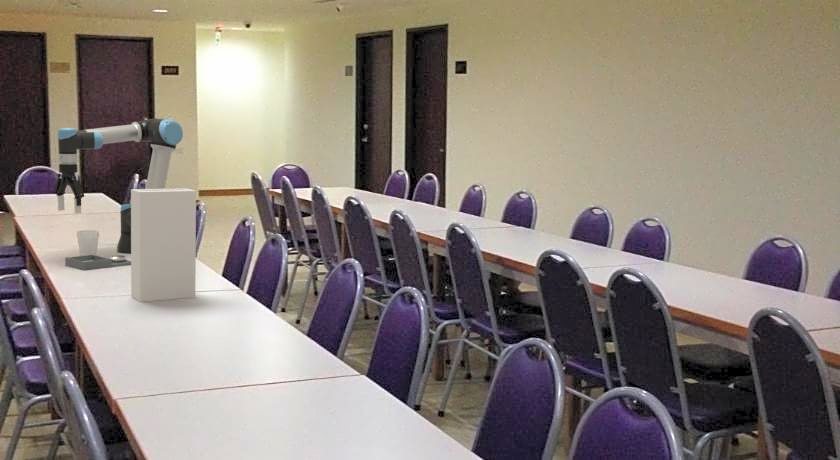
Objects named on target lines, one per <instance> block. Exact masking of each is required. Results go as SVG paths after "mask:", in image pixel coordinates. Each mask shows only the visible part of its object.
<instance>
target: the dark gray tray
mask: <svg viewBox="0 0 840 460" xmlns="http://www.w3.org/2000/svg"><path fill="white" fill-rule="evenodd" d="M64 263H65V267H69V268H73V269H77V270H82V271H88V270H89V271H90V270H91V271H92V270H99V269H106V268H115V267H123V266H125V267H126V266H131V260H128V259H125V261H122V262H112V259H109V258H105V256H100V255H97V254H96V255H86V256H80V255H78V256H71V257H70V256H69V257H65V258H64Z"/></svg>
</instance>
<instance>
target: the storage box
mask: <svg viewBox="0 0 840 460" xmlns="http://www.w3.org/2000/svg"><path fill="white" fill-rule="evenodd" d="M130 204H131V253H130V259H131V260H130V261H131V265H130V267H131V268H130V271H131V272H130V276H131V277H130V278H131V281H130V282H131V284H130V285H131V286H130V287H131V288H130V291H131V292H130V293H131V294H130V295H131V296H130V297H131V298H132V299H134V300H137V301H138V302H139V303H143V302H154V301H155V302H157V301H165V300H166V301H167V300H178V299H192V298H196V267H197V266H196V263H197V262H196V259H197V258H196V257H197V256H196V253H197V252H196V245H197V243H196V242H197V236H196V235H197V228H196V227H197V226H196V225H197V191H196V190H195V189H190V188H185V187H184V188H183V187H182V188H165V189H146V188H135V189H133V188H131V189H130Z"/></svg>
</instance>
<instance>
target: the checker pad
mask: <svg viewBox="0 0 840 460" xmlns="http://www.w3.org/2000/svg"><path fill="white" fill-rule="evenodd" d="M104 257H105V258H109V259H112V262H122V261H125V260H126V256H125V255H118V254H117V255H115V254H114V255H113V254H111V255H110V254H109V255H105V256H104Z"/></svg>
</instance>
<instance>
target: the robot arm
mask: <svg viewBox="0 0 840 460" xmlns="http://www.w3.org/2000/svg"><path fill="white" fill-rule="evenodd" d="M57 131H58V132H57V143H58V163H59V164H58V172H59V173H57V178H56V183H55V188H54V195H55V194H56V196H57V211H58V212H59V211H60V212H61V211H65V194H64V193H65V191H66V188H67V186H68V187H70V189H71V190H72V193H73V195H74V197H73V198H74V199H73V200H74V203H73V204H74V214H75V215H76V214H82V199H83V198H84V197H85V194H84V190H83V186H82V183H81V179H80V175H79V174H77V175H76V173H78V164H77V163H78V150H99V149H101V148H102V147H103V145H108V144H116V143H124V142H130V141H134V142H136V143H140V142H143V143H150V147H151V148H152V153H151V156H150V157H151V158H150V163H149V169H148V173H147V179H146V184H145V189H166V184H167V180H168V179H167V178H168V173H169V168H170V163H171V157H172V153H173V152H174V151H176V147H177V145H178V144H179V143H180V142H181V141H182V140H183V137H184V132H183V131H184V130H183V127H182V126H181V124H180V123H179V122H178V121H176V120H174V119H170V118H149V119H145V120H140V121H139V120H138V121H133V122H132V123H131V124H123V125H116V126H115V125H114V126H106V127H98V128H96V127H95V128H88V129H79V130H77V129H76V128H75V127H60V128H59V129H58V130H57ZM119 212H120V238H119V240H118V243H117V245H116V251H117V252H118V253H123V254H124V253H125V254H131V203H126V204H123V203H122V205H121V206H120V211H119Z"/></svg>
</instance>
